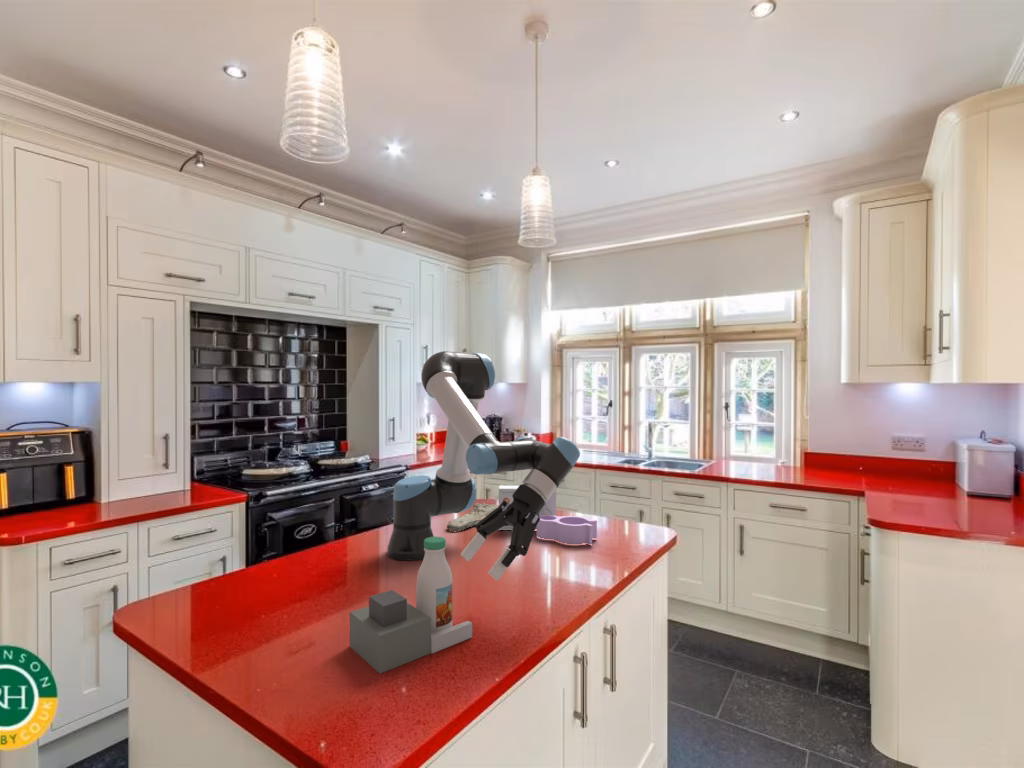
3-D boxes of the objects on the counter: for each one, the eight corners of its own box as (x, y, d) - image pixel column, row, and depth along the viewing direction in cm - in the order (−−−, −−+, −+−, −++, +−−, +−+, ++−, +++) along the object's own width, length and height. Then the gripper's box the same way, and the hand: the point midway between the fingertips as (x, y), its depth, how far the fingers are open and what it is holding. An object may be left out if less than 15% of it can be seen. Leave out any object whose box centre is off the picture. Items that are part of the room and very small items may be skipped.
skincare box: (498, 532, 185) (498, 488, 185) (498, 527, 191) (498, 485, 191) (556, 532, 185) (556, 488, 185) (555, 528, 191) (555, 485, 191)
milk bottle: (422, 644, 105) (422, 546, 105) (411, 628, 112) (411, 536, 112) (457, 636, 108) (458, 541, 109) (444, 621, 115) (445, 532, 115)
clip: (532, 541, 175) (532, 521, 175) (544, 531, 186) (544, 512, 186) (590, 549, 167) (590, 527, 167) (598, 538, 179) (598, 518, 179)
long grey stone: (439, 534, 187) (462, 539, 183) (439, 520, 187) (463, 525, 183) (485, 508, 219) (506, 512, 215) (485, 496, 218) (506, 500, 214)
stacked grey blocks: (349, 646, 104) (349, 591, 104) (436, 615, 118) (436, 567, 118) (380, 674, 94) (380, 614, 94) (472, 637, 108) (472, 584, 108)
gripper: (574, 514, 114) (516, 596, 106) (515, 493, 135) (463, 560, 127) (555, 492, 111) (494, 575, 103) (498, 474, 132) (444, 542, 125)
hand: (477, 567), depth 115 cm, fingers open, 13 cm apart
